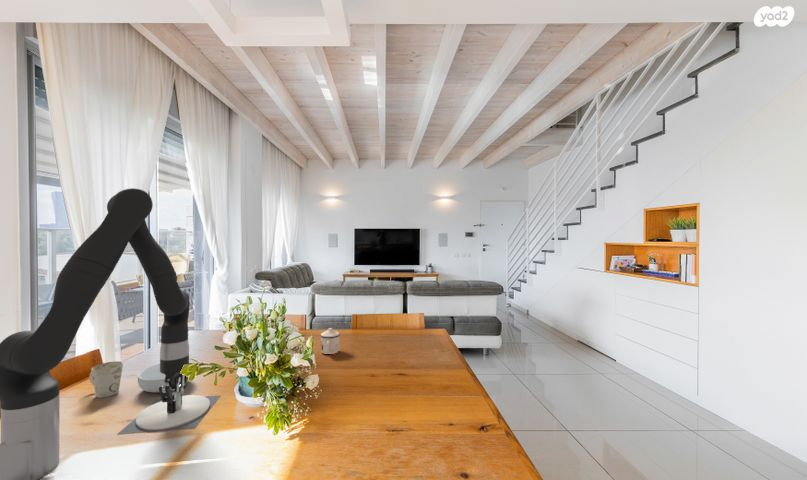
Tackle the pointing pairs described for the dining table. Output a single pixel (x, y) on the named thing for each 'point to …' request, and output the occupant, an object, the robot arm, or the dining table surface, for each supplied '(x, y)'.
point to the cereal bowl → (151, 379)
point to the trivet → (191, 425)
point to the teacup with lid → (330, 341)
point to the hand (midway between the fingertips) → (174, 409)
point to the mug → (106, 378)
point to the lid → (185, 413)
